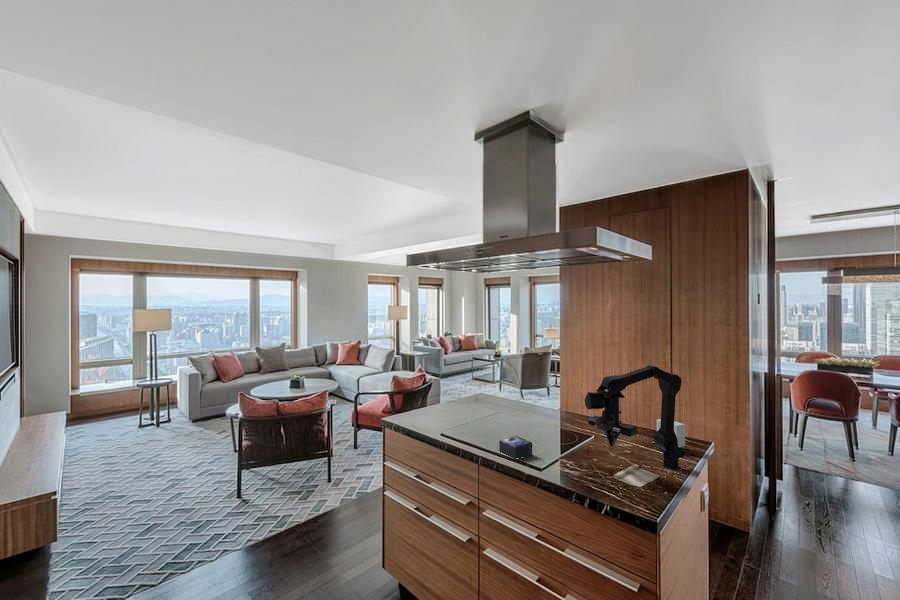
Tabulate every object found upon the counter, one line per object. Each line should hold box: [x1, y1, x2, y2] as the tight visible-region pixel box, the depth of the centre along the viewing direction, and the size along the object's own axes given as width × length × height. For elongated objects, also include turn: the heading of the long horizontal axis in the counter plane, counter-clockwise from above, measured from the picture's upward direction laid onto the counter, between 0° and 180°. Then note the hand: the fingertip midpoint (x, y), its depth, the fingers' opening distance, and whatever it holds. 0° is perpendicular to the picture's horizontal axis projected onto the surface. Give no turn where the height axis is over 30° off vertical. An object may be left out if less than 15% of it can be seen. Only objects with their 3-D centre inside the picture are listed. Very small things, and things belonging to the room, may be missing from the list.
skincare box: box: [656, 418, 686, 449], centre depth 180 cm, size 10×6×10 cm, turn 27°
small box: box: [498, 435, 533, 459], centre depth 167 cm, size 11×6×10 cm
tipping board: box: [613, 463, 661, 488], centre depth 145 cm, size 16×10×2 cm, turn 126°
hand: (611, 446), depth 154 cm, fingers closed
